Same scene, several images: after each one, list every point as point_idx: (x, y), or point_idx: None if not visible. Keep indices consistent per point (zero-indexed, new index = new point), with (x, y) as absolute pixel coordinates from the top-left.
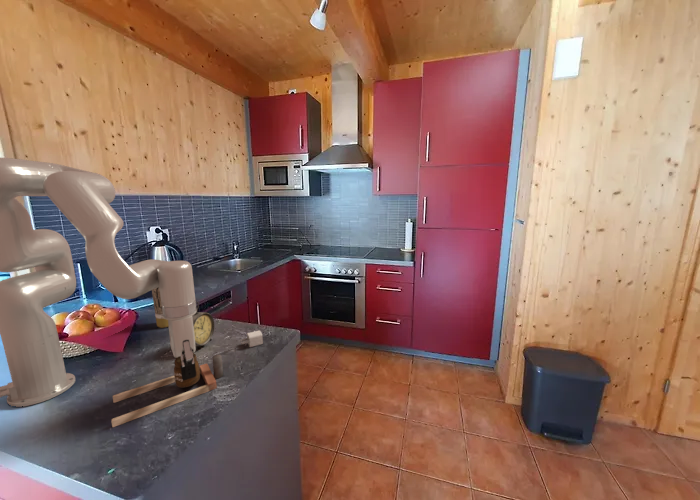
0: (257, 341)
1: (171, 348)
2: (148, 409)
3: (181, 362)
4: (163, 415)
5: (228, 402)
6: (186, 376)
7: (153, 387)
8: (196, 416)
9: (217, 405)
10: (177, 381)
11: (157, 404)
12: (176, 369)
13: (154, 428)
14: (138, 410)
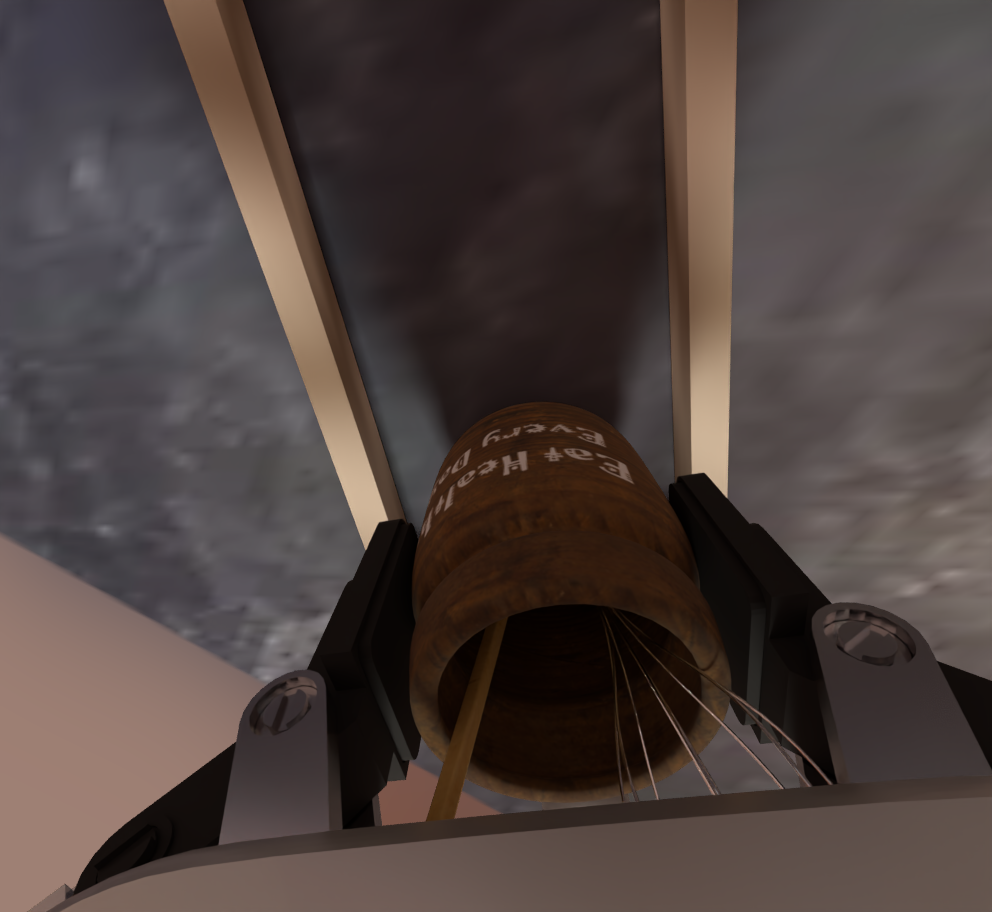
0: None
1: (713, 877)
2: (230, 169)
3: (291, 738)
4: (205, 305)
5: (238, 667)
6: (348, 587)
7: (671, 160)
8: (143, 517)
9: (225, 620)
10: (465, 446)
11: (263, 255)
12: (470, 526)
13: (55, 252)
14: (211, 55)
